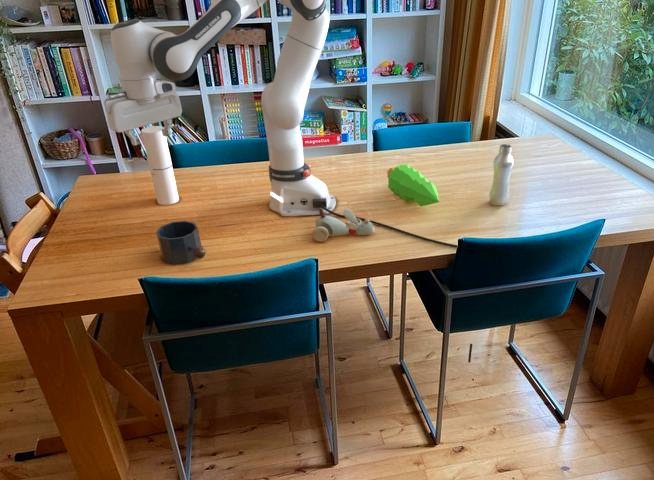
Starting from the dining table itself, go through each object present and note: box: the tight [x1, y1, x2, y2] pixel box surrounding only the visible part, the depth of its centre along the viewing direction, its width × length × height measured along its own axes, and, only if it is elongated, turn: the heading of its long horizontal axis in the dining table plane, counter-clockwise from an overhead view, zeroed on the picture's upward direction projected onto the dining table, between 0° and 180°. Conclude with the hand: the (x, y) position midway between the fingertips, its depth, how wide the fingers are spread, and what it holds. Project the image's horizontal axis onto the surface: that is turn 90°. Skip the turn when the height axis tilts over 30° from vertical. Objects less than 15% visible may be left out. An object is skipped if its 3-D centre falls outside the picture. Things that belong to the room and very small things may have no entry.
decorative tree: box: [386, 163, 440, 208], centre depth 184 cm, size 11×12×30 cm
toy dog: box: [312, 208, 375, 243], centre depth 165 cm, size 12×19×9 cm, turn 114°
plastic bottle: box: [488, 143, 514, 206], centre depth 180 cm, size 6×7×20 cm
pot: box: [155, 220, 206, 265], centre depth 154 cm, size 8×11×17 cm
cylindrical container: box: [140, 125, 180, 206], centre depth 183 cm, size 7×7×25 cm
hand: (151, 140), depth 151 cm, fingers open, 8 cm apart
